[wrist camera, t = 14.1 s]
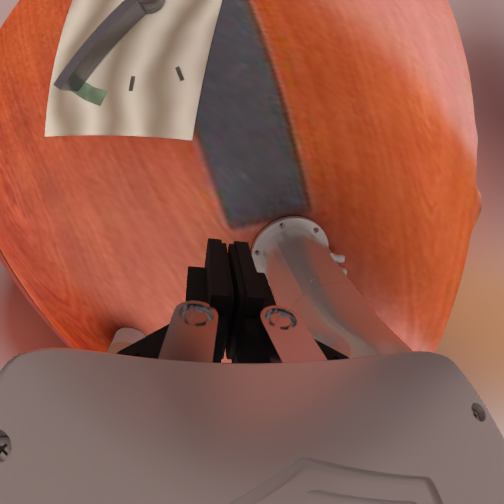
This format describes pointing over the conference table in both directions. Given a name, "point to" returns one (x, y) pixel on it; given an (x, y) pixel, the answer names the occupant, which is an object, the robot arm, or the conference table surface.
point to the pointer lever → (103, 41)
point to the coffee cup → (124, 339)
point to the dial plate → (135, 72)
